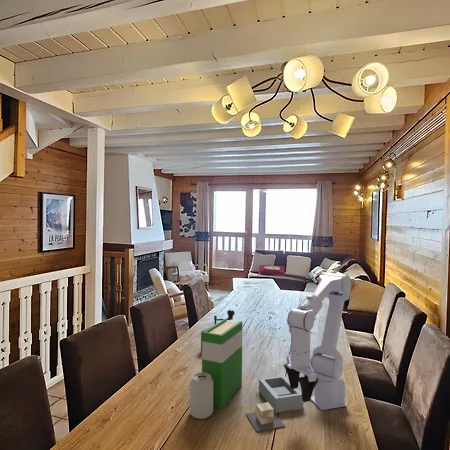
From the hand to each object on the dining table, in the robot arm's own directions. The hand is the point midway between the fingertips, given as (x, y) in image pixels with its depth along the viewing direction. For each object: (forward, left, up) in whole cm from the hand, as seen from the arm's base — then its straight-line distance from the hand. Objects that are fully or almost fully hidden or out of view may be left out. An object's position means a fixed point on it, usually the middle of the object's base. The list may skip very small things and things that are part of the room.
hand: (300, 394), depth 99 cm
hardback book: (+17, -24, -10) cm, 31 cm away
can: (+27, -14, -10) cm, 32 cm away
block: (+9, -5, -9) cm, 14 cm away
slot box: (-1, -15, -9) cm, 18 cm away
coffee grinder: (+7, -66, -10) cm, 67 cm away
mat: (+9, -5, -9) cm, 14 cm away
